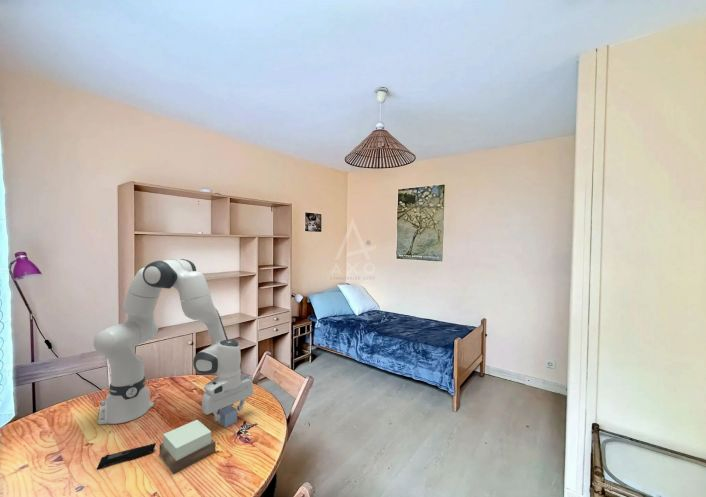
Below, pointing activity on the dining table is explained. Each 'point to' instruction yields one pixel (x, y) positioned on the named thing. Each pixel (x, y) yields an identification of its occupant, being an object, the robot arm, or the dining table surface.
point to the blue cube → (228, 416)
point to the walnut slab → (186, 457)
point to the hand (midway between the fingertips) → (229, 414)
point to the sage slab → (186, 439)
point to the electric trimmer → (125, 455)
